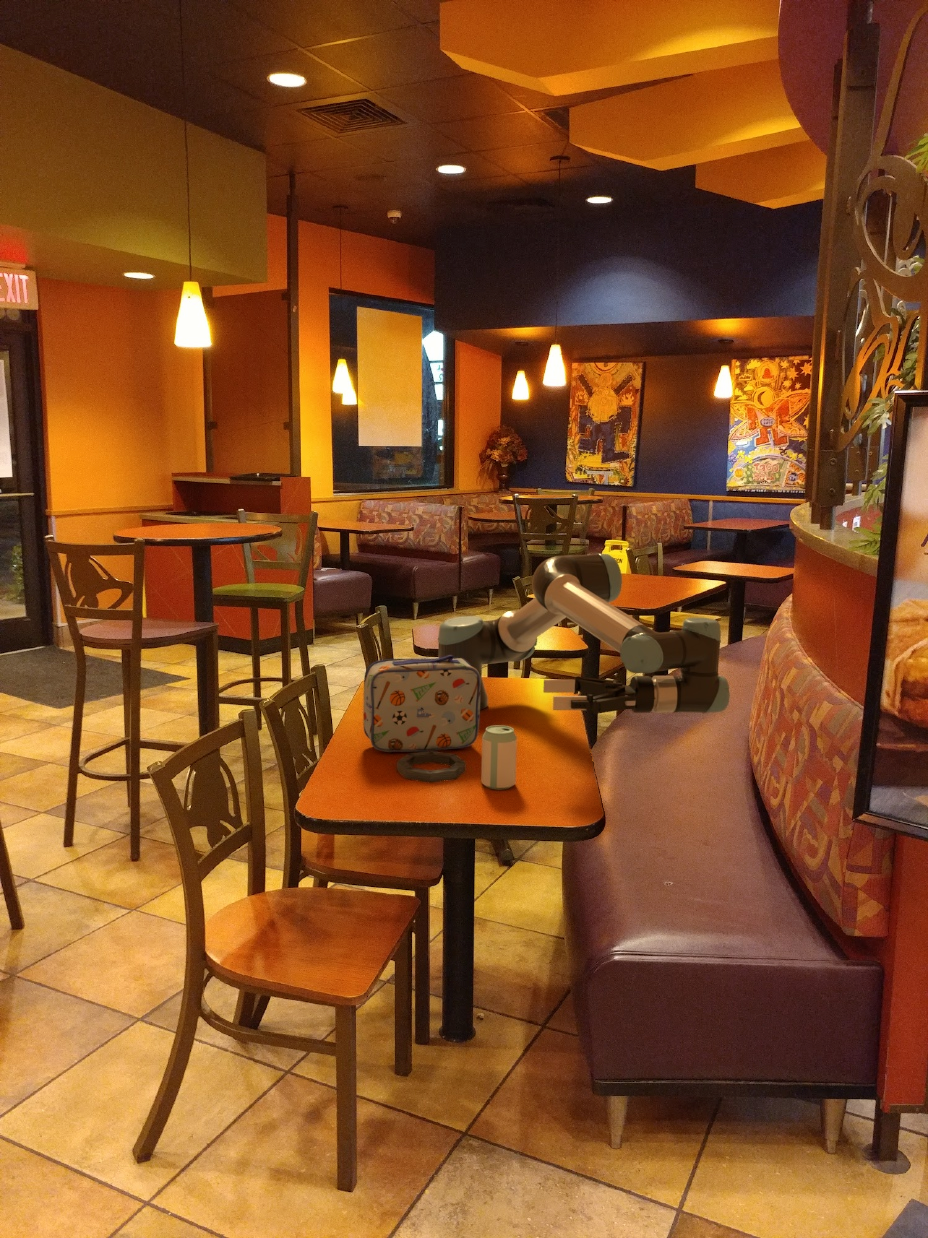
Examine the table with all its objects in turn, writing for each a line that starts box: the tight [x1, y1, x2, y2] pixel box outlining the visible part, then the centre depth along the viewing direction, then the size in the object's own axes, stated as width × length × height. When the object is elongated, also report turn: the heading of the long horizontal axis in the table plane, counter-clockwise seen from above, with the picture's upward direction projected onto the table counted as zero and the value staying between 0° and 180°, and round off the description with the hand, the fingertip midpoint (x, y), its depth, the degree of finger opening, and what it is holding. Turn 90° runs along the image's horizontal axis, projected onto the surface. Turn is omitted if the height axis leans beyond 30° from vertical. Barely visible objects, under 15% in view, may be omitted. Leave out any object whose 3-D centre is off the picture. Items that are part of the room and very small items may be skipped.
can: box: [480, 724, 518, 791], centre depth 197 cm, size 7×7×12 cm
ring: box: [396, 750, 466, 784], centre depth 206 cm, size 14×14×2 cm
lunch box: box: [362, 655, 481, 753], centre depth 220 cm, size 28×10×22 cm, turn 105°
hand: (548, 694), depth 195 cm, fingers open, 13 cm apart
